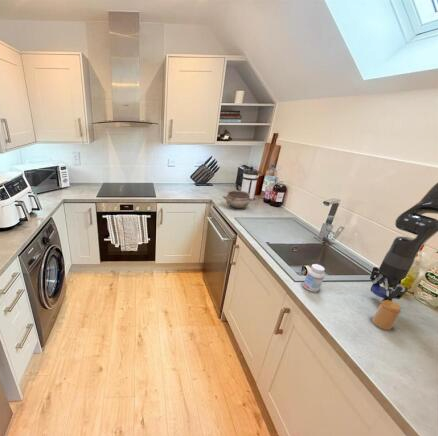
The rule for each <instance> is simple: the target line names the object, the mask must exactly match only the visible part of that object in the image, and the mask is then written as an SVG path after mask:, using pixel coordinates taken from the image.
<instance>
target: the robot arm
mask: <svg viewBox="0 0 438 436" xmlns="http://www.w3.org/2000/svg"><path fill="white" fill-rule="evenodd" d="M425 214H435V215H438V182H436V183H435V184H434V185H433V186H431V187H430V189H429V190H428V191H427V192H426V193H425V194H424V195H423V197H422V198H421V199H420V200H419V201H418V202H417V203H415V204H414V205H412V206H411V207H410V208H408V209H406V210H405V211H403V212H402V213H400V214H399V215H398V216H397V218H396V219H395V221H394V225H395V227H396V228H397V229H398V230H400V231H404V232H406V233H409V234H412V235H415V237H409V236H403V235H402V236H396V237H395V238H394V239H393V241H392V243H391V245H390V248H389V249H388V251H387V252H386V254H385V256H384V257H383V259H382V262H381V263H380V266H373V267H372V270H371V273H370V276H369V279H370V281H372V283H371V284H372V285H371V287H370V292H371V293H373V292H372V291H371V289H372V287H373V286H375V285H377V286H381V285H384V287H385V290H386V295H385V296H384V298H382V300H381V303H383V301H384V300H389V301H392V302H393V299H395V300H396V299H397V300H400V299H402V297H403V296H404V295H405V294H406V293H407V291H408V290H409V289H408V287H407V286H403V284H402V280H404V279H405V278H406V277H407V275H408V274H409V272H410V270H411V268H412V266H413V265H414V263H415V259H416V257H417V255H418V253H419V252H420V250H421V248H422V247H423V246H424V245H425V244H426V243H427V242H428V241H429V240H430V239H431V238H432V237H434V236H435V235H436V234H437V233H438V219H437V218H434V217H431V216H427V215H425ZM390 291H391V292H392V294H391V293H390Z"/></svg>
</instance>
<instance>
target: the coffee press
mask: <svg viewBox="0 0 438 436" xmlns="http://www.w3.org/2000/svg"><path fill="white" fill-rule="evenodd" d="M259 174H260V173H259V171H258V170H257V169H254V166H250V168H246V169H244V171H243V172H242V174H240V175H238V177H237V179H236V184H235V190H238V191H245V192H248V193H249V194H250V196H249V197H250V198H254V200H256V198H255V194H256V189H257V183H258V179H259V177H260V176H259ZM241 178H242V179H241ZM240 179H241V185H240ZM239 185H240V189H239ZM254 200H253V201H254Z"/></svg>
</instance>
